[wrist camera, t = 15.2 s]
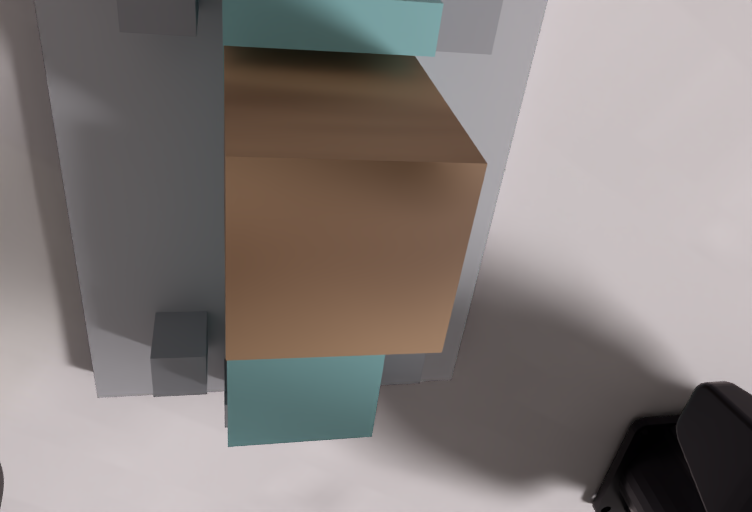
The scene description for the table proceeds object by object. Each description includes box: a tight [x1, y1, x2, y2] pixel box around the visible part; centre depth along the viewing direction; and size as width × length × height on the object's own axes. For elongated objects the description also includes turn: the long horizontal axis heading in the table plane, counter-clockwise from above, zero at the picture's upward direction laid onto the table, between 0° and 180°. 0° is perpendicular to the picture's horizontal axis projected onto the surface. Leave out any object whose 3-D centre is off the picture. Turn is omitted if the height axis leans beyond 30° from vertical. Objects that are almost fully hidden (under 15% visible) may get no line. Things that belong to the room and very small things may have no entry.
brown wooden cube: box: [224, 46, 487, 361], centre depth 13 cm, size 4×4×5 cm
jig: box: [34, 0, 548, 427], centre depth 18 cm, size 16×12×3 cm
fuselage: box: [222, 0, 444, 447], centre depth 17 cm, size 12×4×4 cm, turn 173°
